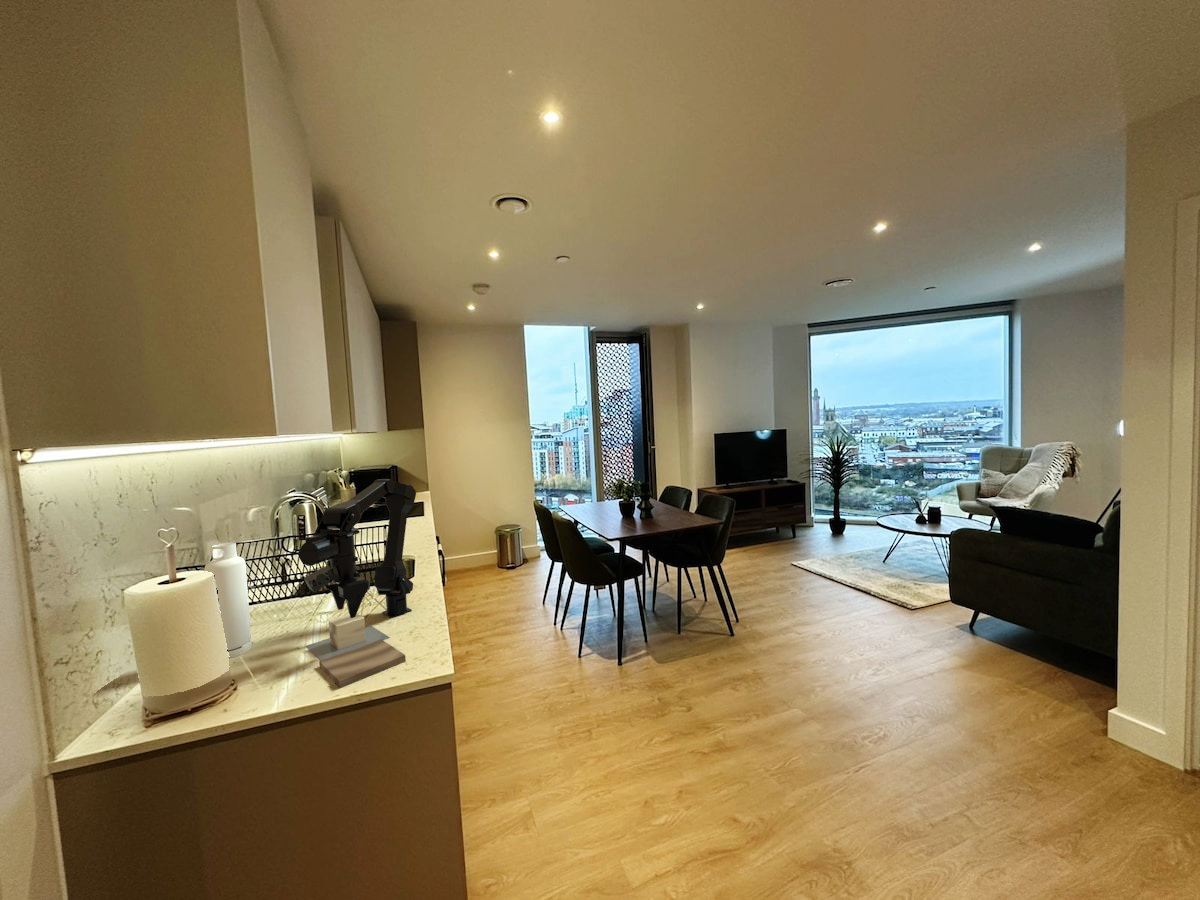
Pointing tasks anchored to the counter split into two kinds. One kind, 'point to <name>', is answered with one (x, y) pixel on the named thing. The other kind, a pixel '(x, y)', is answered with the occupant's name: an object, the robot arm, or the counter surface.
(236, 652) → the bottle
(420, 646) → the counter surface
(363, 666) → the walnut pad
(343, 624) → the oak block
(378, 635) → the tile
